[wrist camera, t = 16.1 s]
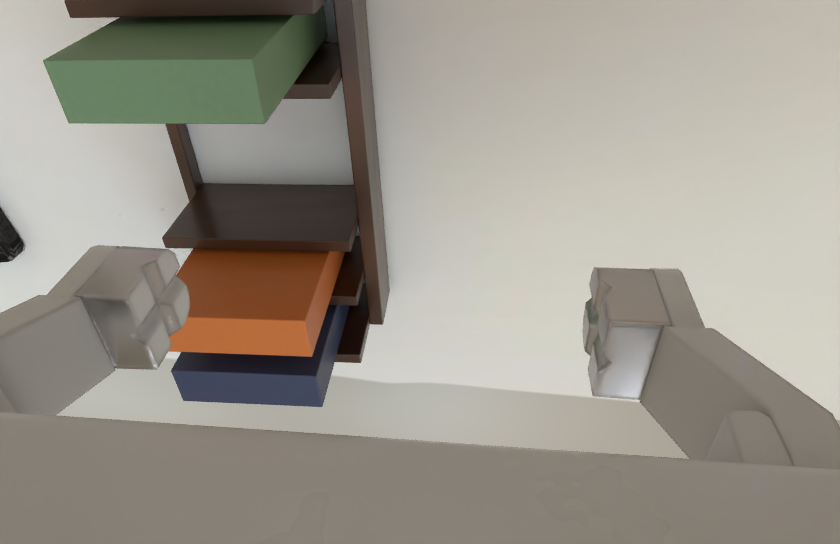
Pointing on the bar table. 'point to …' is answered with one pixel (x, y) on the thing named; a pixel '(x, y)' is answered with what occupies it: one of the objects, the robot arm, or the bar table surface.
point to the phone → (8, 241)
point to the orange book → (256, 300)
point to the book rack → (292, 204)
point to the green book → (185, 68)
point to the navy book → (263, 372)
